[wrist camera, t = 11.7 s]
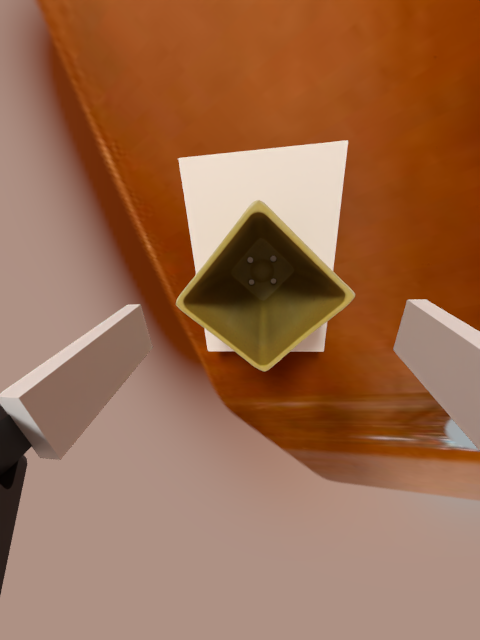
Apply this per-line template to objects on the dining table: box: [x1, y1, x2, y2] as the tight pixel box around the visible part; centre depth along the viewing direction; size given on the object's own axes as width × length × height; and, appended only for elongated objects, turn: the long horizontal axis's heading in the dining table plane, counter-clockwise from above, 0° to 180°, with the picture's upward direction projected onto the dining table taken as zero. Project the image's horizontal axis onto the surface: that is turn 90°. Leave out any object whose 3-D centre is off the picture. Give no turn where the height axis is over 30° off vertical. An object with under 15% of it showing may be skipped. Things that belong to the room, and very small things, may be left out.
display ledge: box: [178, 140, 348, 352], centre depth 25 cm, size 14×20×4 cm
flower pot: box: [176, 200, 355, 372], centre depth 19 cm, size 9×9×9 cm
